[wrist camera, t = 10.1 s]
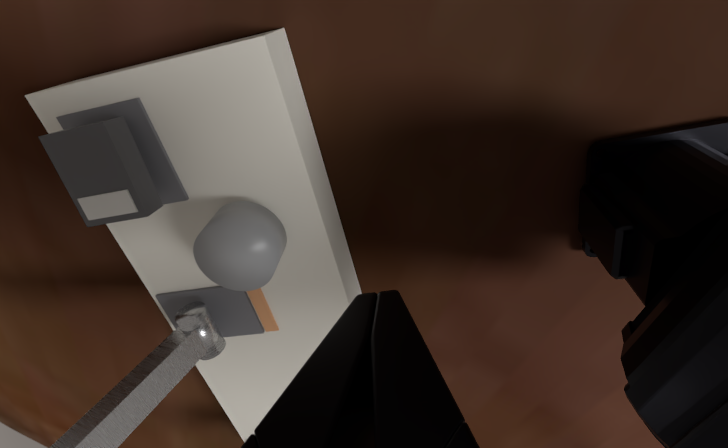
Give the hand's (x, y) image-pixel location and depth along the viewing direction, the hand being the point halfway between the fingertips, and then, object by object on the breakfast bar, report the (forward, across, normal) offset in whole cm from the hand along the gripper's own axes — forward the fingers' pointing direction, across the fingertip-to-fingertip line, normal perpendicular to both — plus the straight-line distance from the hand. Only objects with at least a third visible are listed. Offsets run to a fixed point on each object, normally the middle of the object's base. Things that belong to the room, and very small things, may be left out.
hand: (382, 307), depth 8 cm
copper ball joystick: (+9, +12, +8) cm, 17 cm away
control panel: (+13, +10, +10) cm, 19 cm away
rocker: (+8, +12, -2) cm, 15 cm away
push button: (+9, +7, +3) cm, 12 cm away
